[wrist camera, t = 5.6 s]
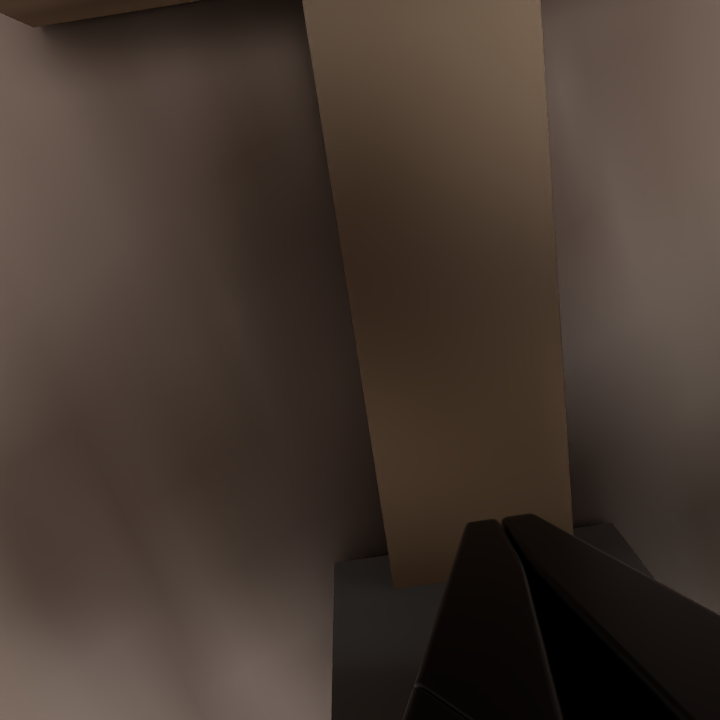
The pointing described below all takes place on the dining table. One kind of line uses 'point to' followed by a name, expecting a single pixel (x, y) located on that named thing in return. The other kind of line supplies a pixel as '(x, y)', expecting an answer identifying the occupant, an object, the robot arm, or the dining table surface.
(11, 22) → the dining table surface
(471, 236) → the tan tray with handle
